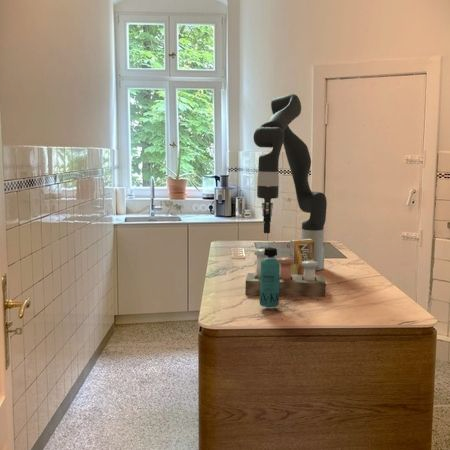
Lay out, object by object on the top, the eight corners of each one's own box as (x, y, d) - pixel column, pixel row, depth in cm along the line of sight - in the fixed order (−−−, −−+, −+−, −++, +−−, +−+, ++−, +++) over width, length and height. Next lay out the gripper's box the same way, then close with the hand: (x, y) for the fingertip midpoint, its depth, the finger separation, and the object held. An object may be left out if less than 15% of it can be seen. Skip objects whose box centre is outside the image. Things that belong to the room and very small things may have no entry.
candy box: (308, 275, 219) (309, 238, 216) (313, 277, 215) (314, 240, 212) (289, 277, 216) (289, 239, 213) (293, 279, 212) (294, 241, 209)
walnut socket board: (245, 294, 189) (245, 280, 189) (247, 286, 201) (247, 273, 200) (325, 297, 186) (326, 283, 186) (323, 288, 198) (323, 275, 197)
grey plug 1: (262, 276, 198) (263, 248, 196) (272, 279, 193) (273, 250, 192) (251, 278, 195) (251, 249, 193) (261, 281, 190) (261, 252, 189)
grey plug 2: (308, 288, 197) (309, 260, 195) (320, 291, 192) (320, 262, 191) (297, 290, 193) (298, 261, 192) (309, 293, 189) (309, 264, 187)
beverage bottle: (257, 306, 175) (258, 246, 172) (277, 306, 176) (278, 246, 173) (260, 312, 169) (261, 250, 166) (281, 312, 169) (282, 250, 166)
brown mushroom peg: (285, 284, 197) (286, 256, 196) (296, 287, 193) (296, 259, 191) (274, 286, 194) (274, 258, 193) (284, 290, 190) (285, 261, 188)
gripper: (257, 183, 196) (256, 230, 198) (256, 185, 182) (255, 235, 185) (278, 183, 195) (277, 230, 197) (278, 185, 182) (277, 236, 184)
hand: (266, 232), depth 191 cm, fingers closed
